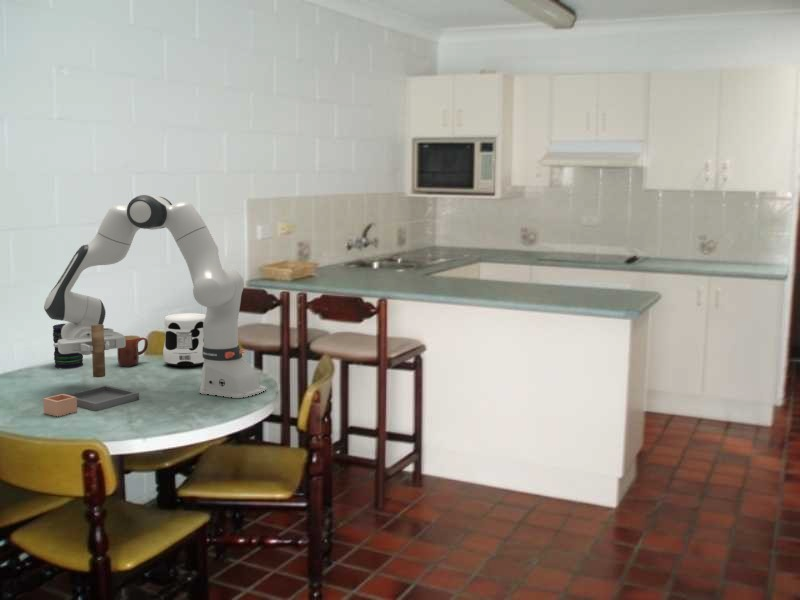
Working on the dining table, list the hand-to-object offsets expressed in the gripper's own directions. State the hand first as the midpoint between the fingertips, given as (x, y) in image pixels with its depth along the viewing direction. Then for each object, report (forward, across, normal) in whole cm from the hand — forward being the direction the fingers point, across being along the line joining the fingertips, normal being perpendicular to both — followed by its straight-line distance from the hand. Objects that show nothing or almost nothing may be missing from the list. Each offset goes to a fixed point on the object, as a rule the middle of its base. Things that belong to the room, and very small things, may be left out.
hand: (99, 348), depth 263 cm
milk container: (-34, +42, +17) cm, 57 cm away
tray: (-1, 0, +17) cm, 17 cm away
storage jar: (-56, +6, +18) cm, 59 cm away
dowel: (-1, 0, +9) cm, 9 cm away
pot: (+5, -14, +17) cm, 22 cm away
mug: (-45, +26, +17) cm, 55 cm away
